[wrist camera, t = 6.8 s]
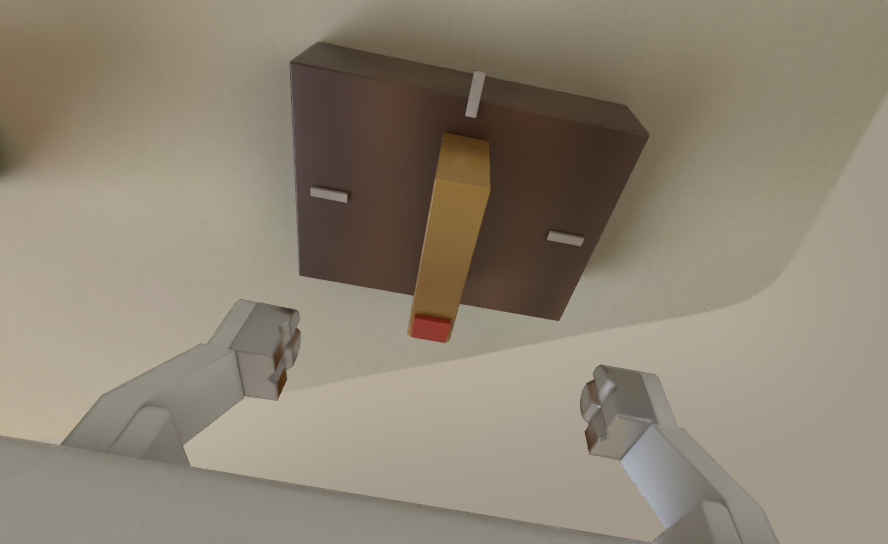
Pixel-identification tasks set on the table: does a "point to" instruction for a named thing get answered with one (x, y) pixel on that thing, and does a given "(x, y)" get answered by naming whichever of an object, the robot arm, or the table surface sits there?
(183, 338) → the table surface
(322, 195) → the knob panel
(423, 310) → the rod knob
